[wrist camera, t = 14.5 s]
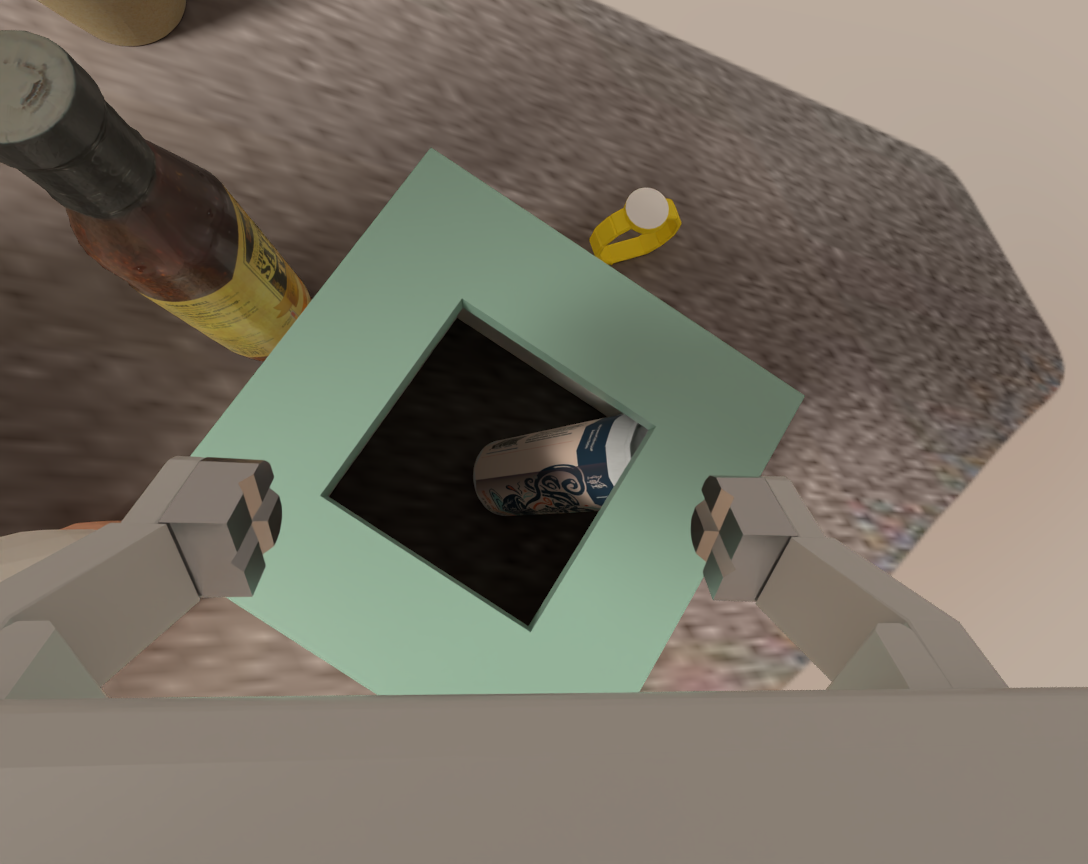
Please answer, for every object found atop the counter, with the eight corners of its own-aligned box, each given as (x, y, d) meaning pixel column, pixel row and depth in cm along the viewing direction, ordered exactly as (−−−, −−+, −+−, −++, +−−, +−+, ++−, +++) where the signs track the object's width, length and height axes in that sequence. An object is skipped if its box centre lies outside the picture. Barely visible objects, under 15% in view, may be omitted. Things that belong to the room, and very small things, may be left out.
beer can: (461, 507, 33) (618, 494, 24) (475, 431, 34) (627, 394, 25) (521, 523, 36) (680, 517, 27) (531, 453, 37) (685, 426, 28)
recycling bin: (530, 676, 35) (568, 817, 19) (291, 522, 34) (128, 535, 19) (671, 442, 38) (804, 395, 22) (453, 298, 38) (430, 147, 22)
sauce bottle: (340, 326, 36) (173, 117, 17) (261, 385, 35) (-13, 234, 16) (277, 252, 37) (41, -38, 17) (197, 309, 36) (-152, 67, 16)
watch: (594, 281, 39) (606, 243, 33) (581, 245, 39) (591, 202, 34) (671, 256, 40) (697, 215, 34) (658, 221, 40) (682, 174, 34)
